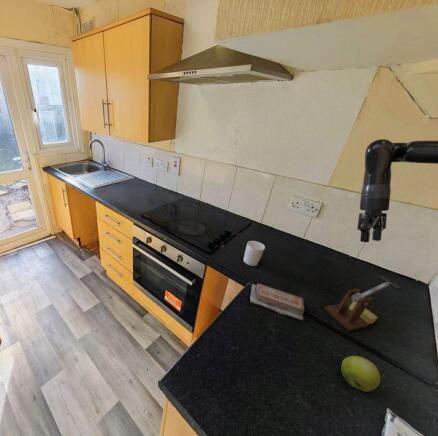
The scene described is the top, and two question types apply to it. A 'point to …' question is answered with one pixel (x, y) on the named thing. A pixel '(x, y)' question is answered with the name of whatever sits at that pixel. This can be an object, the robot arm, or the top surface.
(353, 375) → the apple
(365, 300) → the brown pronged stand
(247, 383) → the top surface
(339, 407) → the top surface
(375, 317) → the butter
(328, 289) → the top surface
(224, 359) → the top surface
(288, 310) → the packaged product
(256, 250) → the white cup
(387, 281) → the grey t-shaped tool
